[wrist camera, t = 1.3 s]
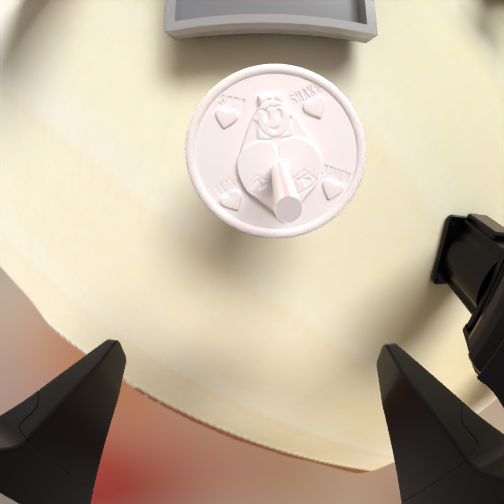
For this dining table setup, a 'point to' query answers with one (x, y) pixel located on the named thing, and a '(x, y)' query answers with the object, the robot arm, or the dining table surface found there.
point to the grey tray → (272, 18)
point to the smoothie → (275, 151)
